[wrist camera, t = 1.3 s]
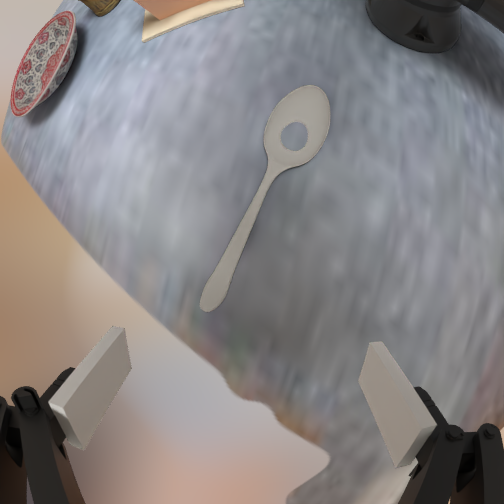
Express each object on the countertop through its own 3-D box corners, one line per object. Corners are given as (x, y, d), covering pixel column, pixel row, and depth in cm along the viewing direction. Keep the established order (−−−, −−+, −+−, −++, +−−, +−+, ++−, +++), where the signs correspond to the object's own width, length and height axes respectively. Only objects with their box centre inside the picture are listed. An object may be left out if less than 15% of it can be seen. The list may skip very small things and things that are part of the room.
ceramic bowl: (81, 9, 45) (62, 0, 37) (112, 42, 42) (87, 29, 35) (26, 89, 54) (6, 85, 47) (44, 143, 52) (18, 140, 44)
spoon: (293, 82, 34) (289, 75, 32) (346, 104, 33) (345, 98, 30) (191, 291, 45) (182, 295, 43) (231, 319, 44) (224, 325, 41)
